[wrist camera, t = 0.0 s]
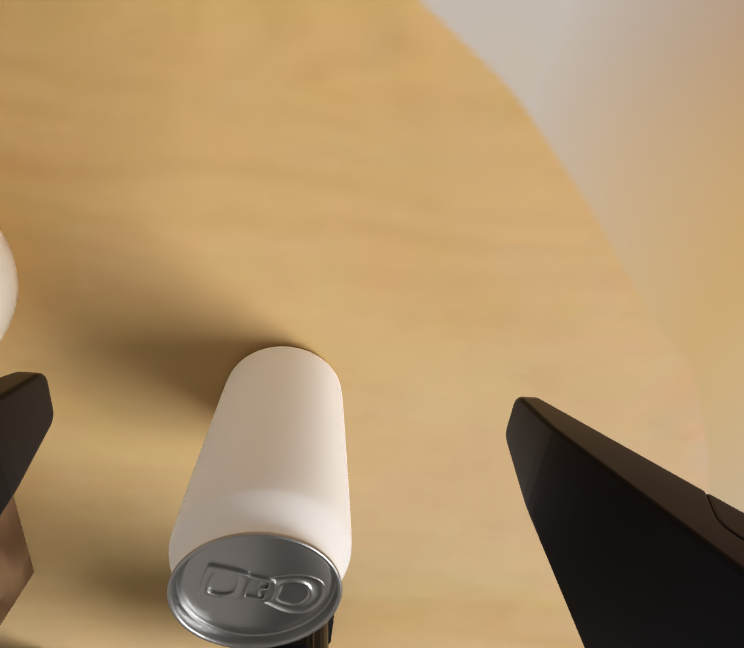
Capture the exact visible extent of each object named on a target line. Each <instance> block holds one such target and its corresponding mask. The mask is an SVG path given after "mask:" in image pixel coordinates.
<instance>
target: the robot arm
mask: <svg viewBox="0 0 744 648" xmlns="http://www.w3.org/2000/svg"><path fill="white" fill-rule="evenodd" d="M52 420H53V407H52V402H51V397H50V392H49V387H48V382H47V379H46V377H45V376H44V375H43V374H41V373H33V372H15V373H12V374H9V375H6V376H3V377H0V515H1V514H2V512H3V511H4V509H5V508H6V506H7V505H8V503H9V502H10V500H11V498H12V497H13V495H14V493H15V491H16V490H17V488H18V486H19V484H20V482H21V481H22V479H23V477H24V475H25V473H26V471H27V469H28V467H29V465H30V463H31V462H32V460H33V458H34V456H35V454H36V452H37V450H38V448H39V446H40V445H41V443H42V441H43V439H44V437H45V435H46V433H47V431H48V429H49V427H50V425H51V423H52ZM506 440H507V444H508V447H509V451H510V454H511V457H512V461H513V464H514V468H515V471H516V474H517V478H518V481H519V485H520V488H521V491H522V495H523V498H524V501H525V504H526V507H527V509H528V512H529V515H530V517H531V520H532V522H533V524H534V527H535V529H536V532H537V534H538V536H539V539H540V541H541V544H542V546H543V548H544V551H545V553H546V556H547V558H548V560H549V563H550V565H551V568H552V570H553V572H554V575H555V577H556V580H557V582H558V584H559V587H560V589H561V592H562V594H563V596H564V599H565V601H566V604H567V606H568V609H569V611H570V613H571V616H572V618H573V621H574V623H575V625H576V628H577V630H578V633H579V635H580V637H581V640H582V642H583V645H584V647H585V648H744V513H743V512H741V511H739V510H737V509H735V508H734V507H732V506H730V505H728V504H726V503H725V502H722V501H721V500H719V499H717V498H716V497H714V496H712V495H710V494H707V495H706V493H705V492H704V491H703V490H701V489H699V488H698V487H696V486H694V485H692V484H691V483H689V482H687V481H685V480H683V479H682V478H680V477H678V476H676V475H674V474H673V473H671V472H669V471H667V470H666V469H664V468H662V467H660V466H658V465H657V464H655V463H653V462H651V461H649V460H648V459H646V458H644V457H642V456H641V455H639V454H637V453H635V452H633V451H632V450H630V449H628V448H626V447H624V446H623V445H621V444H619V443H617V442H616V441H614V440H612V439H610V438H608V437H607V436H605V435H603V434H601V433H599V432H598V431H596V430H594V429H592V428H591V427H589V426H587V425H585V424H583V423H582V422H580V421H578V420H576V419H575V418H573V417H571V416H569V415H567V414H566V413H564V412H562V411H560V410H558V409H557V408H555V407H553V406H551V405H550V404H548V403H546V402H544V401H542V400H541V399H539V398H535V397H519V398H517V399H516V401H515V403H514V405H513V409H512V412H511V416H510V419H509V422H508V426H507V430H506ZM333 618H334V615H333V616H332V617H331V618H330V619H329V621H328V622H327V623H326V624H324V625H323V626H322V627H321V628H320V629H318V630H317V631H315V632H314V633H312V634H310V635H309V636H307V637H305V638H303V639H300V640H298V641H295V642H292V643H289V644H286V645H282V646H277V647H272V648H328V644H329V643H330V642H331V635H332V626H333Z"/></svg>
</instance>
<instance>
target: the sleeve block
mask: <svg viewBox="0 0 744 648" xmlns="http://www.w3.org/2000/svg"><path fill="white" fill-rule="evenodd" d="M33 573H34V571H33V568H32V564H31V560H30V557H29V553H28V549H27V546H26V542H25V538H24V535H23V531H22V527H21V524H20V520H19V516H18V513H17V509H16V505H15V502H14V498H13V497H12V498H11V500H10V502H9V503H8V505H7V506H6V508H5V509H4V511H3V512H2V514H1V515H0V625H1V623H2V622H3V620H4V619H5V617H6V615H7V614H8V612H9V611H10V609H11V607H12V606H13V604H14V603H15V601H16V600H17V598H18V596H19V595H20V593H21V592H22V590H23V589H24V587H25V585H26V584H27V582H28V581H29V579H30V577H31V576H32V574H33Z"/></svg>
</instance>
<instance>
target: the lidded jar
mask: <svg viewBox="0 0 744 648" xmlns="http://www.w3.org/2000/svg"><path fill="white" fill-rule="evenodd" d="M17 301H18V276H17V269H16V263H15V260H14V257H13V254H12V251H11V248H10V246H9V244H8V242H7V240H6V238H5V236H4V234H3V232H2V231H1V230H0V342H1V340H2V339H3V337H4V336H5V334H6V332H7V330H8V328H9V326H10V324H11V321H12V318H13V315H14V312H15V308H16V304H17Z"/></svg>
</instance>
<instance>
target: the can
mask: <svg viewBox="0 0 744 648" xmlns="http://www.w3.org/2000/svg"><path fill="white" fill-rule="evenodd" d="M351 544H352V542H351V518H350V501H349V485H348V470H347V455H346V440H345V426H344V412H343V399H342V390H341V386H340V382H339V380H338V377H337V375H336V374H335V372H334V371H333V369H332V368H331V367H330V366H329V365H328V364H327V363H326V362H325V361H324V360H323V359H321V358H320V357H318V356H317V355H315V354H313V353H311V352H309V351H306V350H303V349H300V348H295V347H287V346H278V347H270V348H265V349H262V350H259V351H256V352H254V353H252V354H250V355H248V356H247V357H245V358H244V359H243V360H241V361H240V362H239V363H238V364H237V365H236V366H235V368H234V369H233V370H232V372H231V374H230V375H229V377H228V379H227V382H226V384H225V387H224V389H223V392H222V395H221V397H220V400H219V403H218V405H217V408H216V411H215V413H214V416H213V419H212V421H211V424H210V427H209V430H208V432H207V435H206V438H205V441H204V443H203V446H202V449H201V452H200V454H199V457H198V460H197V463H196V465H195V468H194V471H193V474H192V476H191V479H190V482H189V485H188V487H187V490H186V493H185V496H184V499H183V501H182V504H181V507H180V510H179V513H178V516H177V519H176V522H175V525H174V528H173V531H172V534H171V539H170V543H169V563H170V569H171V576H170V578H169V581H168V585H167V601H168V605H169V608H170V610H171V612H172V614H173V615H174V617H175V618H176V620H177V621H178V622H179V623H180V624H181V625H182V626H183V627H184V628H185V629H187V630H188V631H189V632H191V633H192V634H194V635H196V636H198V637H199V638H201V639H204V640H206V641H208V642H211V643H214V644H218V645H221V646H226V647H231V648H272V647H277V646H282V645H286V644H289V643H292V642H295V641H298V640H300V639H303V638H305V637H307V636H309V635H310V634H312V633H314V632H315V631H317V630H318V629H320V628H321V627H322V626H323V625H324V624H326V623H327V622H328V621H329V619H330V618H331V617H332V616H333V615H334V613H335V612H336V610H337V608H338V606H339V604H340V601H341V597H342V579H343V577H344V575H345V573H346V570H347V568H348V564H349V561H350V557H351Z"/></svg>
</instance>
